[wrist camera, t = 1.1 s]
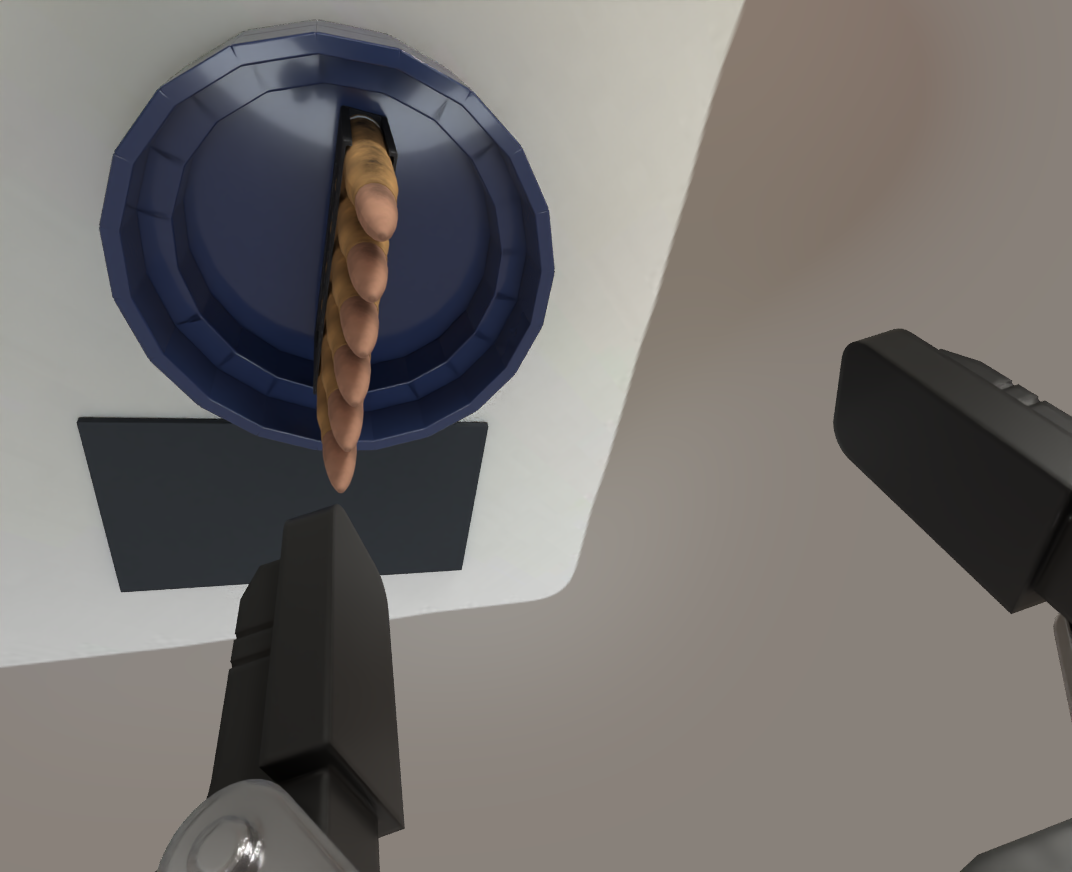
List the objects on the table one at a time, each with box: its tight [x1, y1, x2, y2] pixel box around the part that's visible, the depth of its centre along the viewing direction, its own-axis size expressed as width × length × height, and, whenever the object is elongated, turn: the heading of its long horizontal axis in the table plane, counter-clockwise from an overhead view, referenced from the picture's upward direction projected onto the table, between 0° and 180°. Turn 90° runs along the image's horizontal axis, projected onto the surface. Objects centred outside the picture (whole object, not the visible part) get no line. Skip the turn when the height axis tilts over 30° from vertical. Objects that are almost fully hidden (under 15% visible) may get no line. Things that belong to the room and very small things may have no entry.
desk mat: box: [77, 418, 488, 592], centre depth 36 cm, size 20×12×1 cm, turn 78°
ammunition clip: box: [313, 105, 398, 493], centre depth 23 cm, size 11×2×12 cm, turn 163°
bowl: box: [99, 20, 555, 451], centre depth 26 cm, size 16×16×5 cm
